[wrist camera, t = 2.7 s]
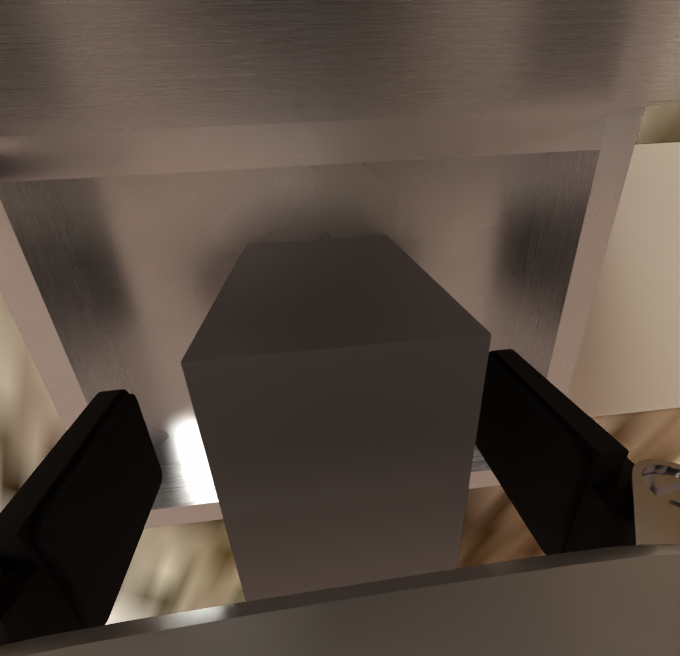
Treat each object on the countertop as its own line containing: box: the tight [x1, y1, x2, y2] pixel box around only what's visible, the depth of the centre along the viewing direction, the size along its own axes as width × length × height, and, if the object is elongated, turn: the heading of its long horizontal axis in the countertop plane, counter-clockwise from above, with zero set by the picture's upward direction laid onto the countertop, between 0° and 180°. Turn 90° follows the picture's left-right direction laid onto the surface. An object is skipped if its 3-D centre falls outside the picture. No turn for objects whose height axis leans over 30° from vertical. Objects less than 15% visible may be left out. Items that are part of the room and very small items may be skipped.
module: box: [181, 235, 491, 602], centre depth 11 cm, size 5×7×8 cm
